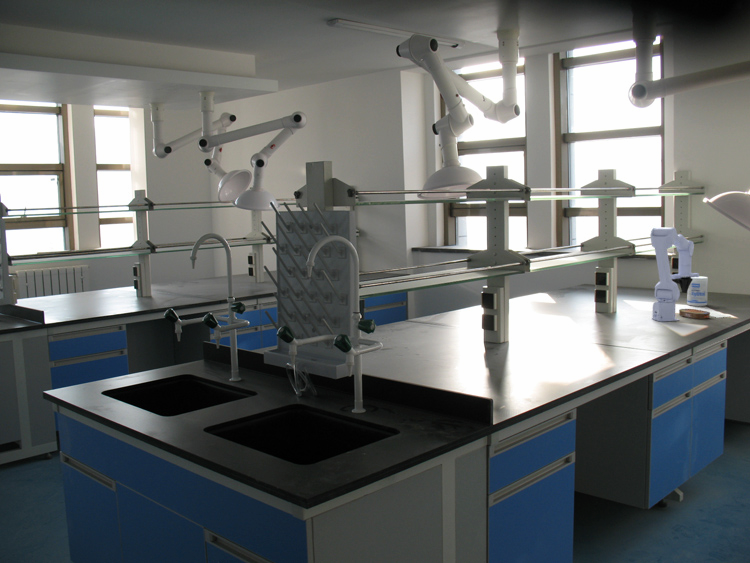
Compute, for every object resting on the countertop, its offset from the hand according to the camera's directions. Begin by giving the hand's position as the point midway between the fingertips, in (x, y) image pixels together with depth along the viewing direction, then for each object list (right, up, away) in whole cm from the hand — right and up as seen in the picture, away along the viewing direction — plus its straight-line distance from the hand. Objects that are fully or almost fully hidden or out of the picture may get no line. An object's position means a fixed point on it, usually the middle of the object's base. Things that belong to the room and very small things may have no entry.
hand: (684, 292), depth 327 cm
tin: (+6, -10, -5) cm, 12 cm away
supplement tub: (+18, -7, +25) cm, 31 cm away
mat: (+12, -11, -4) cm, 17 cm away
